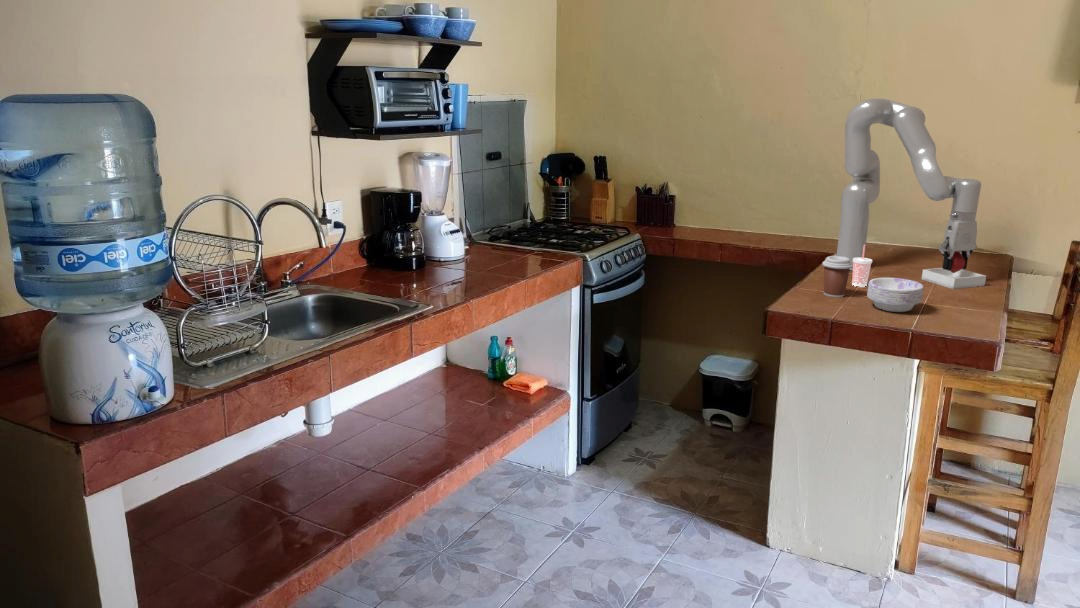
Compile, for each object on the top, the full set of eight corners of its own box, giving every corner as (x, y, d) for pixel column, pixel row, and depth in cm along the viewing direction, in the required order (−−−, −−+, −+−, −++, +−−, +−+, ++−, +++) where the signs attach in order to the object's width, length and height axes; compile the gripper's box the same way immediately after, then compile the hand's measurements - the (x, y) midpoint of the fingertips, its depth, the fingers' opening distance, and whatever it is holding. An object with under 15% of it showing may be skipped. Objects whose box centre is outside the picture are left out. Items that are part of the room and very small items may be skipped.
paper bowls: (855, 306, 236) (858, 281, 234) (883, 298, 244) (887, 274, 242) (902, 318, 224) (906, 292, 222) (930, 310, 233) (934, 284, 230)
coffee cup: (845, 300, 242) (850, 262, 239) (815, 295, 247) (819, 259, 244) (851, 293, 250) (856, 257, 246) (822, 289, 254) (826, 253, 251)
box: (953, 289, 256) (954, 278, 255) (921, 279, 268) (922, 269, 267) (984, 285, 260) (986, 275, 259) (952, 276, 273) (953, 266, 272)
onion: (961, 271, 265) (965, 249, 263) (964, 275, 260) (968, 252, 258) (942, 270, 267) (946, 247, 265) (945, 274, 262) (949, 251, 259)
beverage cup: (845, 284, 261) (850, 243, 257) (859, 282, 264) (864, 242, 260) (859, 288, 256) (864, 247, 252) (873, 286, 258) (878, 245, 254)
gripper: (951, 219, 252) (943, 273, 257) (992, 217, 257) (982, 269, 262) (933, 215, 259) (925, 268, 264) (973, 213, 264) (964, 264, 269)
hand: (954, 268), depth 263 cm, fingers closed on onion, 5 cm apart
